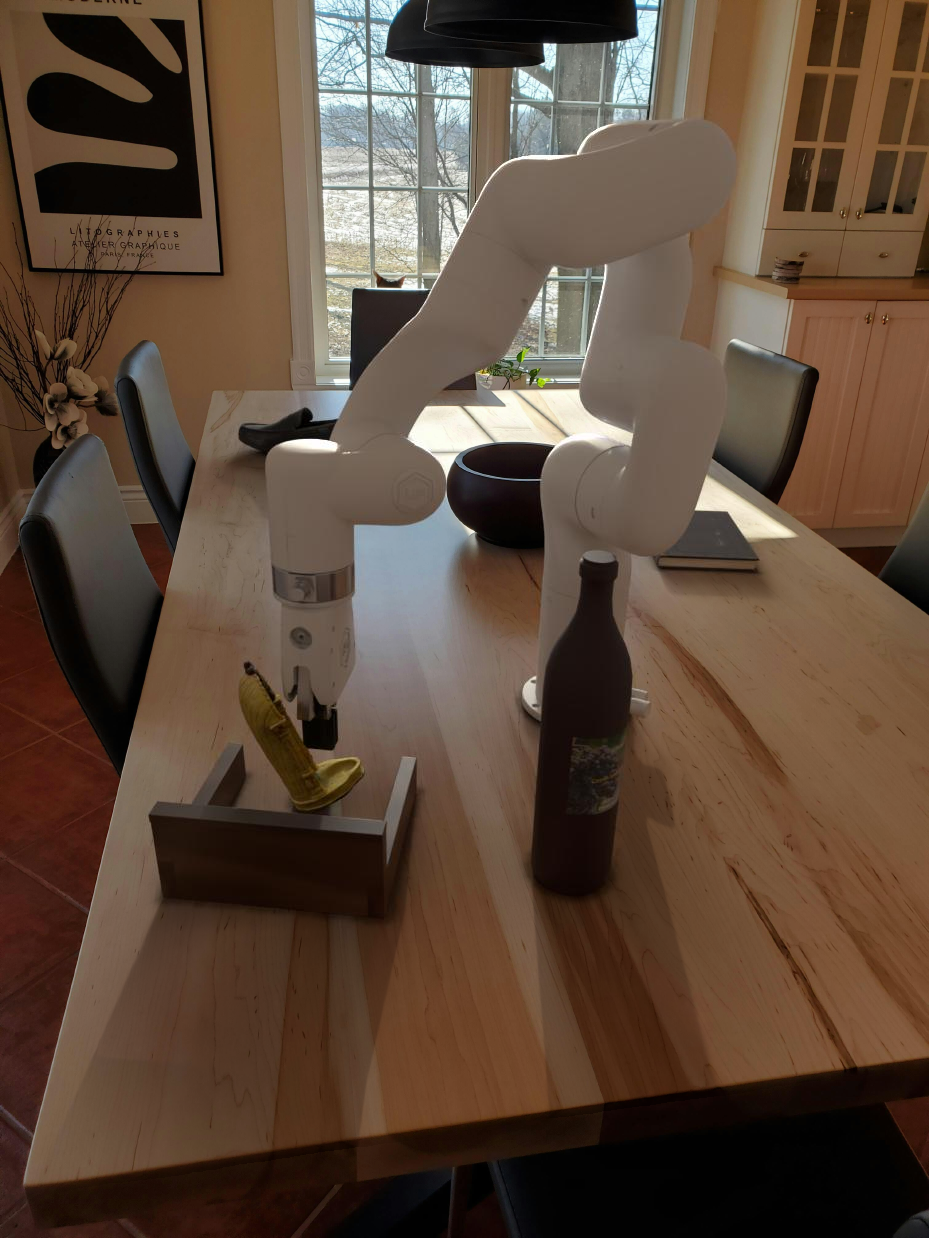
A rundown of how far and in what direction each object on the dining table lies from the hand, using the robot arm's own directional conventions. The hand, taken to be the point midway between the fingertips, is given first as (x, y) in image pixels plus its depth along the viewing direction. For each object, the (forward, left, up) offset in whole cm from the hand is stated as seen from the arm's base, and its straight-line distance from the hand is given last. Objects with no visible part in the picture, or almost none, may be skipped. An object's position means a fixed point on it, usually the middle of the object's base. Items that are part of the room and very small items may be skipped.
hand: (320, 744), depth 90 cm
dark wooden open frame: (-5, +8, -4) cm, 10 cm away
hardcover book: (-9, -86, -4) cm, 87 cm away
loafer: (+82, -90, -4) cm, 122 cm away
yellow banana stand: (-2, +4, -4) cm, 6 cm away
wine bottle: (-27, -1, -4) cm, 28 cm away
